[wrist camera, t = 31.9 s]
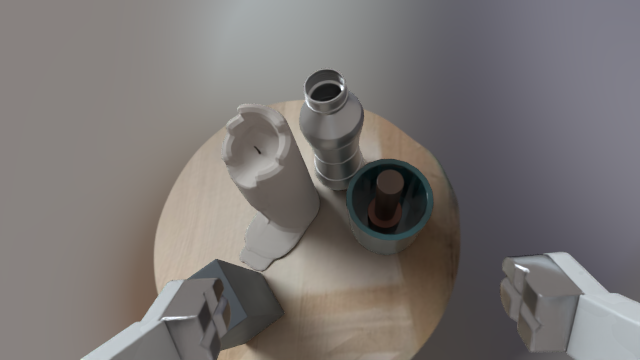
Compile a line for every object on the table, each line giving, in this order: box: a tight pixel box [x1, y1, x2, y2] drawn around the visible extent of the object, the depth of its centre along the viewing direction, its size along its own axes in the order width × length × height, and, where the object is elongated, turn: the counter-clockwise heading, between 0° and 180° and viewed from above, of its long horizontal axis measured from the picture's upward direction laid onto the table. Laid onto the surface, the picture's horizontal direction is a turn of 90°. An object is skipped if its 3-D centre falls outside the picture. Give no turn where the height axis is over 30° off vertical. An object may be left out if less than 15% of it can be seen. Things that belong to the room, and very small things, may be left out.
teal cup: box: [346, 159, 433, 255], centre depth 39 cm, size 9×9×10 cm
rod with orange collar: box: [368, 170, 404, 234], centre depth 37 cm, size 4×4×14 cm
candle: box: [222, 104, 320, 271], centre depth 36 cm, size 7×14×20 cm, turn 145°
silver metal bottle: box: [299, 68, 364, 190], centre depth 38 cm, size 6×7×20 cm
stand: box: [188, 259, 285, 351], centre depth 36 cm, size 6×6×14 cm
